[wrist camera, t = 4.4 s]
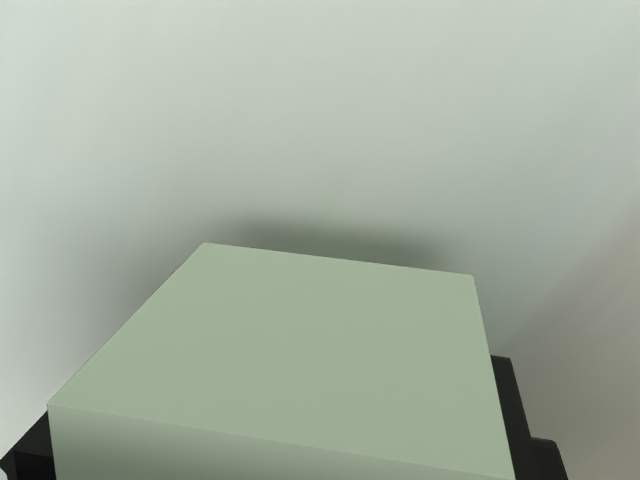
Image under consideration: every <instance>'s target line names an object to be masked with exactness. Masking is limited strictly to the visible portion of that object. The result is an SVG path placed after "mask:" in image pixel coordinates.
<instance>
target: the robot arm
mask: <svg viewBox="0 0 640 480" xmlns="http://www.w3.org/2000/svg"><path fill="white" fill-rule="evenodd" d="M490 358H491V363H492V368H493V372H494V377H495V382H496V387H497V392H498V397H499V402H500V406H501V411H502V416H503V421H504V426H505V431H506V436H507V440H508V445H509V450H510V455H511V460H512V465H513V470H514V474H515V479H516V480H568V477H567V474H566V471H565V468H564V465H563V462H562V459H561V455H560V452H559V449H558V447H557V445H556V443H555V442H554V441H552V440H547V439H540V438H534V437H531V435H530V432H529V428H528V424H527V420H526V416H525V413H524V409H523V405H522V401H521V397H520V394H519V390H518V386H517V382H516V378H515V374H514V371H513V367H512V363H511V360H510V358H506V357H499V356H492V355H490ZM0 480H57V479H56V472H55V464H54V456H53V448H52V441H51V433H50V425H49V417H48V410H47V411H46V412H45V413H44V415H43V416H42V417H41V418H40V419H39V420H38V421H37V422H36V423H35V424H34V425H33V426H32V427H31V428H30V429H29V430H28V431H27V432H26V433H25V435H24V436H23V437H22V438H21V439H20V440H19V441H18V442H17V443H16V444H15V445H14V446H13V447H12V448H11V449H10V450H9V451H8V452H7V453H6V454H5V456H4V457H3V458H2V459H1V460H0Z"/></svg>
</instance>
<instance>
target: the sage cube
mask: <svg viewBox="0 0 640 480" xmlns="http://www.w3.org/2000/svg"><path fill="white" fill-rule="evenodd" d="M47 409H48V417H49V425H50V433H51V441H52V448H53V456H54V464H55V472H56V479H57V480H516V479H515V474H514V470H513V465H512V460H511V455H510V450H509V445H508V440H507V436H506V431H505V426H504V421H503V416H502V411H501V406H500V402H499V397H498V392H497V387H496V382H495V377H494V372H493V368H492V363H491V358H490V353H489V348H488V343H487V338H486V334H485V329H484V324H483V319H482V314H481V309H480V304H479V300H478V295H477V290H476V285H475V280H474V275H469V274H461V273H453V272H445V271H437V270H428V269H420V268H412V267H404V266H396V265H387V264H379V263H371V262H363V261H355V260H346V259H338V258H330V257H322V256H314V255H306V254H297V253H289V252H281V251H273V250H265V249H256V248H248V247H240V246H232V245H224V244H215V243H207V242H203V243H202V244H201V245H200V246H199V247H198V248H197V249H196V250H195V251H194V252H193V253H192V254H191V255H190V256H189V257H188V258H187V259H186V260H185V262H184V263H183V264H182V265H181V266H180V267H179V268H178V269H177V270H176V271H175V272H174V273H173V274H172V275H171V276H170V277H169V278H168V279H167V280H166V281H165V282H164V283H163V284H162V285H161V286H160V287H159V288H158V289H157V290H156V291H155V292H154V293H153V294H152V296H151V297H150V298H149V299H148V300H147V301H146V302H145V303H144V304H143V305H142V306H141V307H140V308H139V309H138V310H137V311H136V312H135V313H134V314H133V315H132V316H131V317H130V318H129V319H128V320H127V321H126V322H125V323H124V324H123V325H122V326H121V327H120V328H119V330H118V331H117V332H116V333H115V334H114V335H113V336H112V337H111V338H110V339H109V340H108V341H107V342H106V343H105V344H104V345H103V346H102V347H101V348H100V349H99V350H98V351H97V352H96V353H95V354H94V355H93V356H92V357H91V358H90V359H89V360H88V361H87V362H86V364H85V365H84V366H83V367H82V368H81V369H80V370H79V371H78V372H77V373H76V374H75V375H74V376H73V377H72V378H71V379H70V380H69V381H68V382H67V383H66V384H65V385H64V386H63V387H62V388H61V389H60V390H59V391H58V392H57V393H56V394H55V395H54V396H53V398H52V399H51V400H50V401H49V402H48V403H47Z"/></svg>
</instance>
